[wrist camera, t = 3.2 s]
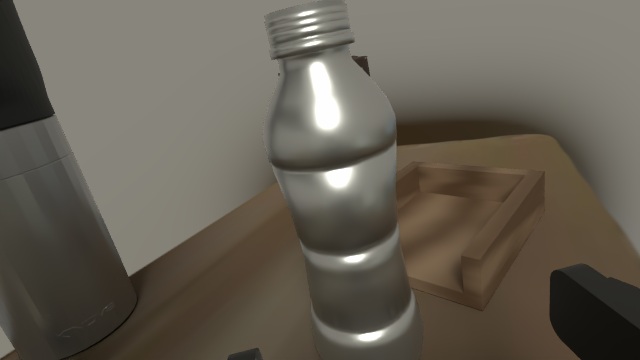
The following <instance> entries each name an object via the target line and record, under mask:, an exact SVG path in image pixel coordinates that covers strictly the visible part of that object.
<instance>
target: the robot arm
mask: <svg viewBox="0 0 640 360" xmlns="http://www.w3.org/2000/svg"><path fill="white" fill-rule="evenodd" d="M53 114H55V112H54V110H53V108H52V105H51V103H50V101H49V98H48V96H47V92H46V89H45V85H44V81H43V77H42V74H41V71H40V68H39V65H38V63H37V61H36V58H35V56H34V54H33V51H32V49H31V46H30V44H29V42H28V39H27V37H26V34H25V31H24V29H23V26H22V24H21V22H20V19H19V16H18V13H17V11H16V8H15V5H14V3H13V0H0V326H1V328H2V329H3V331H4V332H5V334H6V335H7V337H8V339H9V340H10V342H11V343H12V345H13V347H14V348H15V350H16V352H17V353H18V355H19V356H20V358H21V359H22V360H60V359H63V358H65V357H68V356H71V355H73V354H75V353H78V352H80V351H82V350H84V349H86V348H88V347H89V346H91V345H93V344H95V343H96V342H98V341H100V340H101V339H103V338H104V337H105V336H107V335H108V334H110V333H111V332H112V331H113V330H115V329H116V328H117V327H118V326H119V325H120V324H122V322H123V321H124V320H125V319H126V318H127V317H128V316H129V315H130V313H131V312H132V310H133V309H134V307H135V304H136V302H137V295H136V293H135V290H134V288H133V286H132V284H131V281H130V279H129V277H128V275H127V272H126V270H125V268H124V266H123V263H122V261H121V258H120V256H119V254H118V252H117V249H116V247H115V245H114V243H113V240H112V238H111V236H110V234H109V232H108V229H107V227H106V225H105V223H104V220H103V218H102V216H101V214H100V212H99V209H98V207H97V205H96V203H95V201H94V198H93V196H92V194H91V192H90V189H89V187H88V185H87V183H86V180H85V178H84V176H83V174H82V171H81V169H80V167H79V165H78V163H77V160H76V158H75V156H74V154H73V152H72V150H71V148H70V145H69V143H68V141H67V139H66V136H65V134H64V132H63V130H62V128H61V125H60V123H59V121H58V119H57V117H56V115H53ZM550 321H551V324H552V327H553V329H554V331H555V332H556V334H557V335H558V337H559V338H560V339H561V340H562V341H563V342H564V343H565V344H566V345H567V346H568V347H569V348H570V349H571V350H572V351H573V352H574V353H575V354H576V355H577V356H578V357H579V358H580V359H581V360H640V289H639V288H637V287H635V286H633V285H630V284H627V283H625V282H622V281H620V280H617V279H614V278H612V277H610V278H606V277H605V276H603V275H602V274H600V273H599V272H597V271H596V270H594V269H593V268H591V267H590V266H588V265H586V264H577V265H573V266H569V267H566V268H562V269H558V270H555V271H553V272H552V273H551V276H550ZM227 360H263V359H262V356H261V353H260V351H259V349H258V348H255V349H251V350H247V351H243V352H239V353H236V354H232V355H229V356H228V359H227Z"/></svg>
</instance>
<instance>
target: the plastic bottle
mask: <svg viewBox="0 0 640 360" xmlns="http://www.w3.org/2000/svg"><path fill="white" fill-rule="evenodd" d="M264 18H265V26H266V30H267V34H268V39H269V43H270V47H271V50H269V53H270V57H271V60H275V59H277V60H278V62H279V68H280V76H279V78H278V81H277V83H276V86H275V88H274V91H273V93H272V96H271V99H270V101H269V105H268V108H267V112H266V115H265V119H264V122H263V144H264V147H265V150H266V153H267V156H268V159H269V162H270V163H271V164H272V169H273V171H274V174H275V176H276V178H277V181H278V183H279V186H280V188H281V190H282V193H283V195H284V198H285V200H286V203H287V205H288V207H289V210H290V212H291V215H292V218H293V222H294V225H295V228H296V232H297V235H298V238H299V239H300V245H301V248H302V251H303V254H304V258H305V265H306V271H307V278H308V284H309V291H310V297H311V324H312V333H313V340H314V344H315V347H316V349H317V351H318V353H319V355H320V357H321V359H322V360H419V358H420V356H421V350H422V341H423V330H424V329H423V321H422V317H421V314H420V310H419V307H418V303H417V301H416V298H415V295H414V293H413V291H412V288H411V286H410V282H409V278H408V274H407V269H406V265H405V261H404V257H403V252H402V248H401V244H400V238H399V225H398V223H397V221H398V213H397V202H396V140H395V139H396V138H397V137H396V136H397V135H396V120H395V114H394V112H393V110H392V107H391V105H390V102H389V100H388V98H387V97H386V95H385V94H384V93H383V92H382V90H381V89H380V88H379V87H378V86H377V84H376V83H375V82H374V81H373V80H372V79H371V78H370V76H369V75H368V74H367V73H366V72H365V71H364V70H363V69H362V68H361V67H360V66H359V65H358V64H357V63H356V62H355V61H354V60H353V59H352V57H351V54H350V51H349V44H350V43H354V42H355V40H354V33H353V32H351V30H350V24H349V18H348V12H347V6H346V3H345V0H323V1H317V2H312V3H307V4H302V5H298V6H294V7H290V8H286V9H282V10H279V11H275V12H272V13H270V14H267V15H265V16H264Z"/></svg>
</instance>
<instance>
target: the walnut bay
mask: <svg viewBox="0 0 640 360" xmlns="http://www.w3.org/2000/svg"><path fill="white" fill-rule="evenodd" d="M544 185H545V171H534V170H520V169H506V168H492V167H479V166H465V165H451V164H437V163H424V162H412V163H410V164H409V165H408V166H406V167H405V168H403V169H402V170H401V171H399V172H398V173H396V202H397V213H398V221H397V223H398V225H399V238H400V244H401V248H402V252H403V257H404V261H405V265H406V269H407V274H408V278H409V282H410V286H411V288H414V289H417V290H420V291H423V292H426V293H429V294H432V295H435V296H439V297H442V298H445V299H448V300H451V301H454V302H457V303H460V304H463V305H466V306H469V307H472V308H475V309H478V310H481V311H483V310H484V308H485V307H486V305H487V304H488V302H489V300H490V299H491V297H492V295H493V294H494V292H495V291H496V289H497V287H498V286H499V284H500V282H501V281H502V279H503V278H504V276H505V274H506V273H507V271H508V270H509V268H510V266H511V265H512V263H513V261H514V260H515V258H516V257H517V255H518V253H519V252H520V250H521V248H522V247H523V245H524V244H525V242H526V240H527V239H528V237H529V235H530V234H531V232H532V231H533V229H534V227H535V226H536V224H537V223H538V221H539V219H540V218H541V216H542V214H543V213H544Z"/></svg>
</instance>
